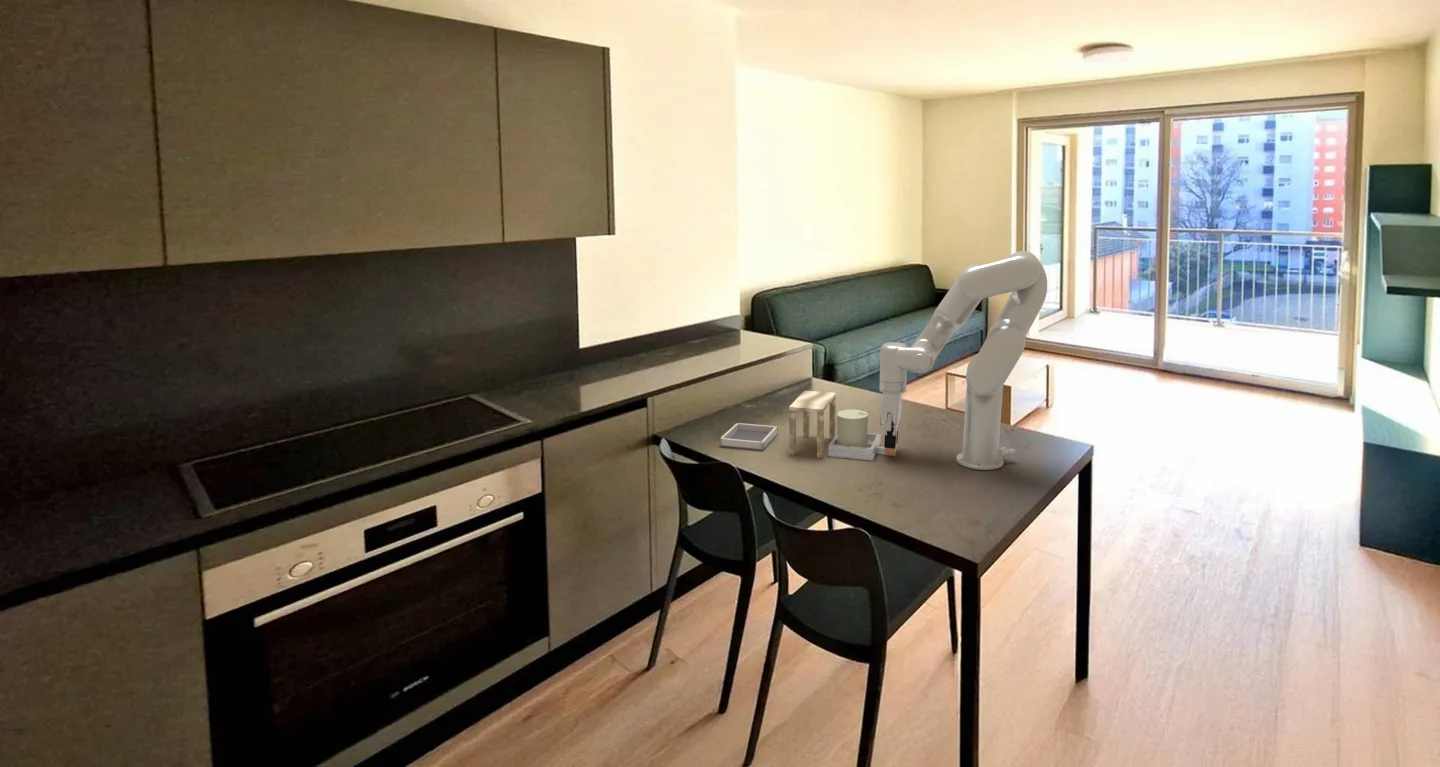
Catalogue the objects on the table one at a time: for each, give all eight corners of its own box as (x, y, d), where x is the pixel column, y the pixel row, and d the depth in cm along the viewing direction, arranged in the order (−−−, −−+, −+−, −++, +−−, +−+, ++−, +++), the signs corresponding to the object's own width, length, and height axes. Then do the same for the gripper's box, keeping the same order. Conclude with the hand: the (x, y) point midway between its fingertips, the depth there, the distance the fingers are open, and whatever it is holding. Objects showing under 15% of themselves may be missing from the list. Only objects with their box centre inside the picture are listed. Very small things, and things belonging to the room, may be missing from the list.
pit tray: (777, 434, 239) (777, 426, 238) (763, 451, 224) (762, 442, 224) (736, 430, 244) (736, 422, 243) (719, 446, 229) (719, 438, 229)
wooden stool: (835, 438, 233) (835, 392, 229) (822, 458, 217) (822, 409, 213) (804, 435, 237) (804, 390, 233) (789, 455, 221) (789, 406, 217)
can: (869, 455, 218) (870, 416, 215) (838, 456, 218) (838, 417, 215) (864, 444, 227) (865, 407, 224) (834, 445, 227) (835, 408, 224)
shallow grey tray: (898, 446, 225) (899, 415, 222) (892, 462, 212) (893, 429, 209) (838, 441, 231) (838, 410, 228) (828, 456, 218) (828, 424, 216)
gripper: (884, 377, 222) (882, 435, 227) (875, 392, 207) (873, 454, 212) (909, 379, 219) (907, 438, 224) (902, 394, 205) (900, 456, 209)
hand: (890, 445), depth 218 cm, fingers closed on shallow grey tray, 3 cm apart
